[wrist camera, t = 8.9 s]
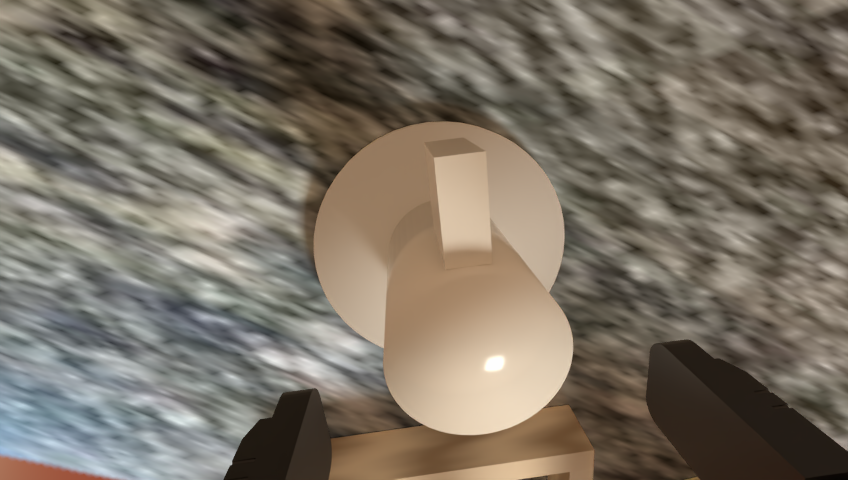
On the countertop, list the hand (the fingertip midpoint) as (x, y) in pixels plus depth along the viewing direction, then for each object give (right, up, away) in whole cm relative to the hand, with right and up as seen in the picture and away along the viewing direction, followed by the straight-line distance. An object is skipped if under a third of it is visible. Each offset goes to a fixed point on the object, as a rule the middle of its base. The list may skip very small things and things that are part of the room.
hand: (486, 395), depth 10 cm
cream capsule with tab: (-1, +4, +7) cm, 9 cm away
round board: (-1, +3, +9) cm, 9 cm away
